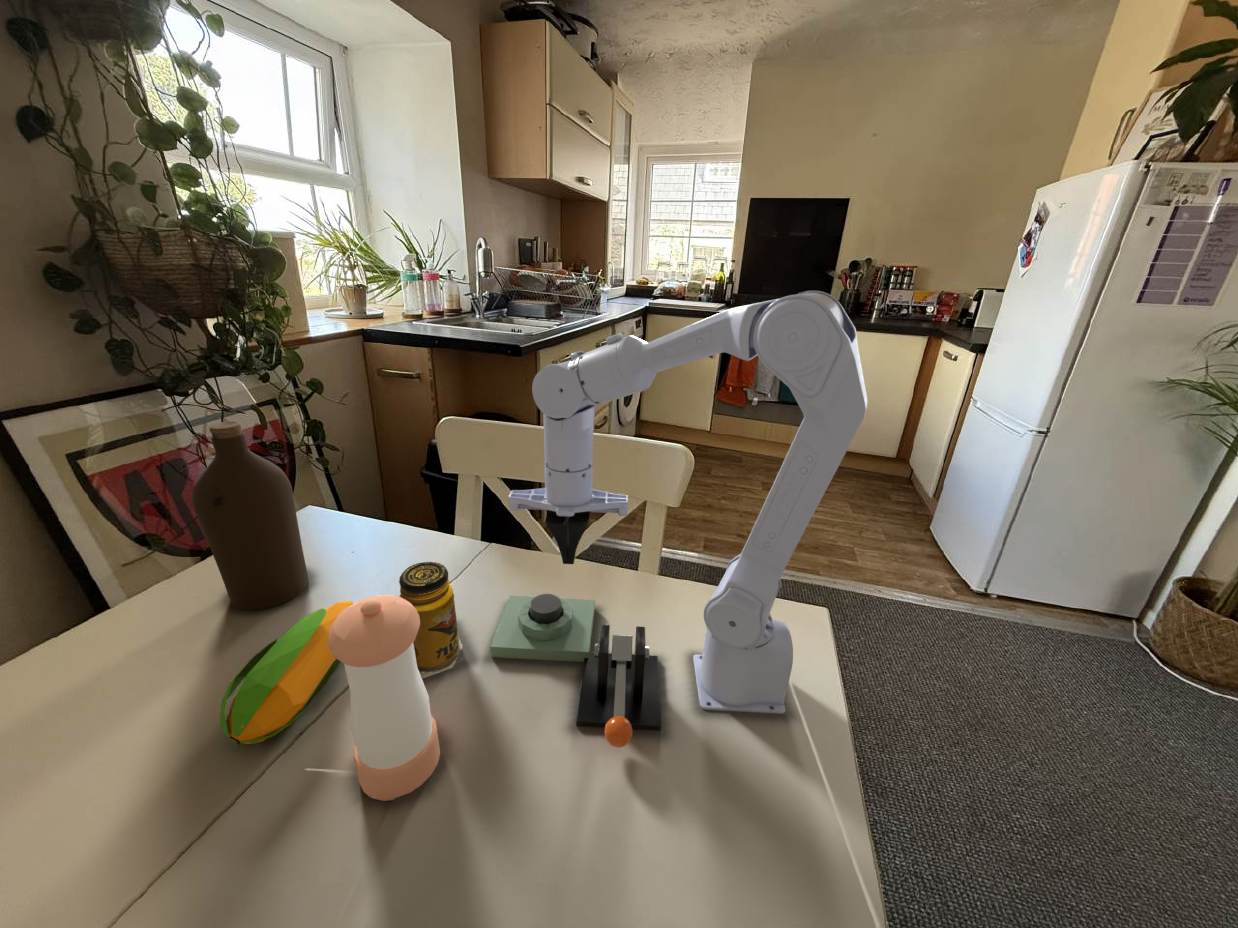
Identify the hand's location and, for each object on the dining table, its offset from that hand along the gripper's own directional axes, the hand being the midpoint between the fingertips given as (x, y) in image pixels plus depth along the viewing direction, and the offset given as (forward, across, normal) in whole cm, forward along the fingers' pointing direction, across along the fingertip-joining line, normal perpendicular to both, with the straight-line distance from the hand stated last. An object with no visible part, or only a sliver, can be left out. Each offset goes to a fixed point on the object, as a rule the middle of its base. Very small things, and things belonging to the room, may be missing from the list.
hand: (569, 559), depth 64 cm
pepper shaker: (+10, -14, -22) cm, 27 cm away
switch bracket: (+10, +7, -12) cm, 17 cm away
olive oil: (+10, -44, +4) cm, 45 cm away
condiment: (+10, -17, -8) cm, 21 cm away
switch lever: (+7, +7, -15) cm, 18 cm away
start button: (+7, -3, -3) cm, 8 cm away
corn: (+10, -29, -12) cm, 33 cm away
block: (+10, -3, -3) cm, 11 cm away
